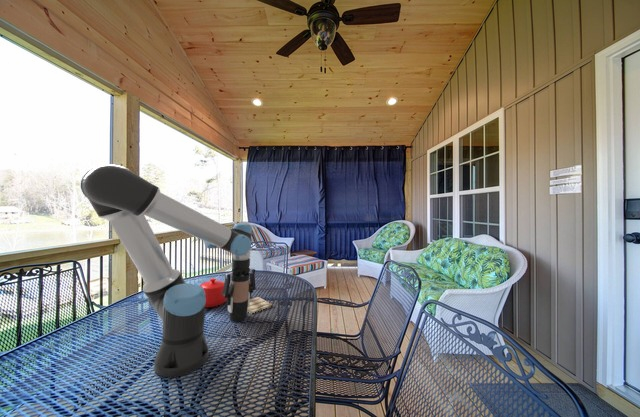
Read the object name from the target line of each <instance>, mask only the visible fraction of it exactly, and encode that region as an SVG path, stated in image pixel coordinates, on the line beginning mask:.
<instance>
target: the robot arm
mask: <svg viewBox="0 0 640 417" xmlns="http://www.w3.org/2000/svg"><path fill="white" fill-rule="evenodd" d="M80 190H81V192H82V194H83V195H84V197H85V198H87V199H88V202H89V203H90V205H91V206H92V208H93V209H94V211H95V213H96V214H97V216H98V217H99V218H101V219H104V220H107V221H108V222H109V223H110V225H111V227H112V229H113V230H114V232H115V234H116V235H117V237H118V238H119V239H118V240H119V241H120V242H121V244H122V246H123V247H124V249H125V252H127V253H128V256H129V257H130V260H132V261H131V262H133V264H134V266H135V267H136V270H137V271H138V273H139V274H140V276H141V278H142V280H143V282H144V285H143V287H142V291H143V293H144V294H145V296H146V297H147V300H148V303H149V305H150V306H151V307H152V309H154V311H155V312H156V313H157V315H158V316H159V318H160V319H161V320H162V334H161V335H162V336H161V339H162V340H161V343H160V345H159V347H158V350H157V353H156V355H155V358H154V363H153V364H154V366H153V370H154V372H155V374H156V375H158V376H160V377H164V378H177V377H182V376H185V374H186V375H188V374H190V373H193V372H195V371H196V370H198V369H199V368H201V367H202V366H203V365H204V364H205V363H206V362H207V360H208V358H209V345H208V342H207V340H206V336H205V333H204V332H205V331H204V330H205V312H206V307H205V302H206V298H205V291H204V289H203V288H202V287H201V286H200V285H199V284H197V283H196V284H193V283H187V282H186V281H185V279H184V278H183V276H182V274H181V271H180V270H178V269H173V267H172V265H171V263H170V262H169V259H168V257H167V256H166V254H165V252H164V250H163V248H162V246H161V244H160V242H159V241H158V239H157V237H156V235H155V233H154V231H153V229H152V227H151V225H150V223H149V221H148V220H147V217H148V218H151V219H153V220H155V221H157V222H160V223H162V224H165V225H167V226H168V227H172V228H174V229H176V230H178V231H180V232H184V233H185V234H187V235H190V236H193V237H194V238H197V239H199V240H201V241H202V242H203V243H204V246H205V247H206V249H214V250H216V249H221V250H223V251H226V252H228V253H230V254H232V260H231V261H232V262H231V271H230V272H228V273H227V272H226V273H224V278H225V279H224V288H223V293H222V296H223V297H225V298H227V299H226V301H225V303H226V305H227V311H228V312H229V314H230V313H232V309H233V297H232V294H233V292H234V284H232V283H231V277H232V275H233V276H241V275H244V276H246V275H248V273H249V291H248V306H247V307H249V304H250V299H252V293H254V290H256V278H255V276H256V275H255V274H256V269H255V268H253V267H251V266H250V265H251V251H252V250H251V249H252V235H253V232H252V231H253V229H252V225H251V224H250V223H247V222H246V223H245V222H244V223H243V222H239V223H234V225H233V228H229V227H228V226H226V225H224V224H222V223H220V222H218V221H216V220H214V219H212V218H210V217H209V216H206V215H204V214H203V213H201V212H199V211H197V210H195V209H193V208H191V207H189V206H188V205H186V204H183V203H181V202H180V201H178V200H176V199H174V198H172V197H170V196H168V195H166V194H164V193H162V192H161V190H160V187H158V186H156V185H155V184H153V183H152V182H149V181H148V180H146V179H145V178H143V177H141V176H140V175H139V174H137V173H135V172H133V171H132V170H131V169H129V168H126V167H124V166H123V165H122V166H121V165H116V164H105V165H104V164H103V165H99V166H97V167H95V168H91V169H90V170H88V171H87V172H86V173H84V175H83V176H82V179H81V181H80ZM250 267H251V268H250Z"/></svg>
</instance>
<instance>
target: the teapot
mask: <svg viewBox="0 0 640 417" xmlns="http://www.w3.org/2000/svg"><path fill="white" fill-rule="evenodd" d="M224 283H225V281H222V280H217V279H216V278H214V277H212V278H210V279H209V281H204V282H203V283H201V284H200V285H199V286H201V287H202V288H203V289H204V291H205V298H206V302H205V309H206V308H207V309H208V308H216V307H218V305H219V306H220V305H223V304H224V303H226V299H227V298H225V297H223V296H222V293H223V288H224ZM215 306H216V307H215Z"/></svg>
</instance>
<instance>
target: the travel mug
mask: <svg viewBox="0 0 640 417" xmlns="http://www.w3.org/2000/svg"><path fill="white" fill-rule="evenodd" d="M231 283H232V284H234V292H233V294H232V297H233V309H232V313H230V312H229V320H230V321H231V322H233V321H234V322H233V323H238V322H239V323H241V322H243V321H245V320H246V319H247V316H248V312H247V306H248V291H249V283H250V275H249V273H248V275H246V276H244V275H241V276H233V275H232V276H231V281H230V284H231ZM245 318H246V319H245ZM244 319H245V320H244ZM242 320H243V321H242Z"/></svg>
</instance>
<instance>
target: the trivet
mask: <svg viewBox="0 0 640 417" xmlns="http://www.w3.org/2000/svg"><path fill="white" fill-rule="evenodd" d="M270 306H272V307H273V304H272V303H271V302H269V301H267V300H265V299H263V298H261V297H260V296H257V297H253V298H251V299H250V304H249V307H247V313H248V312H249V313H248V314H250V313H251V314H250V315H253V314H252V313H254V314H256V313H259V312H261V310H262V311H264V310H263V309H265V308H267V309H269V308H268V307H270ZM270 308H271V307H270ZM265 310H266V309H265ZM258 311H259V312H258ZM255 312H256V313H255Z"/></svg>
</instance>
